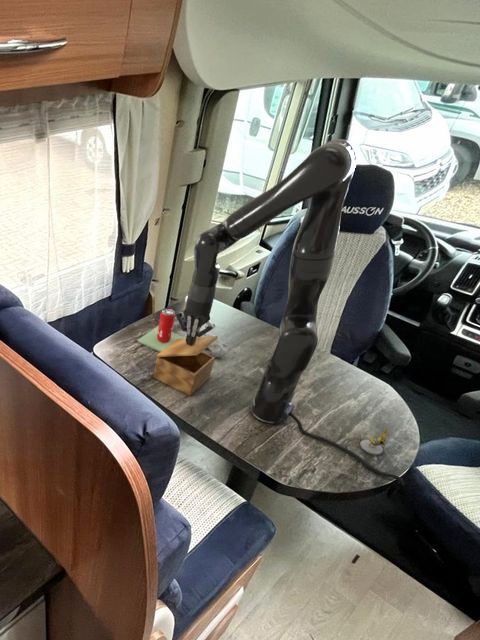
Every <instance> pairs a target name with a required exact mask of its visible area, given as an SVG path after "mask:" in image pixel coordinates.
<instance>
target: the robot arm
mask: <svg viewBox="0 0 480 640" xmlns="http://www.w3.org/2000/svg"><path fill="white" fill-rule="evenodd" d="M357 161H358V155H357V151H356V149H355V147H354V145H353V144H352V143H351V142H350V141H348V140H347V139H343V138H337V139H332V140H329V141H327V142H325V143H323V144H321V145H320V146H318V147H317V148H315V149H314V150H313V151H311V152H310V153H309V155H308V156H307V157H306V158H305V159H304V160H303V161H302V162H301V163H300V164H299V165H298V166H296V167H295V168H294V169H293V170H292V171H291V172H290V173H289V174H288V175H287V176H285V177H284V178H283V179H281V181H280V182H278V183H277V184H275V185H273V187H271V188H270V189H268V190H266V191H264V192H262V193H261V194H259V195H257V196H256V197H254V198H253V199H251V200H249V201H247V202H246V203H245V204H244V205H242V206H240V207H239V208H237V209H236V210H234V211H233V212H232V213H231V214H230V215H228V216H227V217H226V219H224V220H223V221H221V222H220V223H219V224H217V225H215V226H214V227H211V228H209V229H207V230H205V231H203V232H202V233H200V234H199V235H198V237H197V238H196V240H195V242H194V243H195V244H194V248H193V249H194V250H193V257H194V259H193V261H194V269H193V273H192V278H191V282H190V285H189V289H188V293H187V295H188V298H187V302H186V308H185V309H184V308H183V310H184V311H183V310H181V311H179V312H177V313H175V318H176V319H177V321H178V324H179V327H180V326H181V327H180V329H181V331H183V332H185V333H186V337H185V338H186V342H187V343H186V344H187V345H189V346H191V345H193V344H194V343H195V342H196V338H197V337H201V336H202V335H204V334H208V333H209V332H211V331H212V330H213V329H215V328H216V324H215V323H212V322H211V316H210V315H211V312H212V307H213V303H214V299H215V297H216V290H217V284H218V280H219V275H220V270H221V267H220V264H219V263H218V262H217V258H218V255H219V254H220V253H223V252H224V251H225V250H226V251H227V249H229V248H230V247H232V246H233V245H235V244H236V243H237V242H239V241H240V240H243V239H244V238H246V237H247V236H250V235H251V234H253V233H255V232H256V231H257V230H259V229H261V228H262V227H264V226H265V225H267V224H268V223H270V222H271V221H273V220H275V218H277V217H278V216H279V215H282V214H283V213H284V212H286V211H287V210H289V209H291V208H292V207H295V206H296V205H298V204H300V203H302V202H304V201H307V200H308V204H307V207H306V211H305V214H304V217H303V218H302V221H301V223H300V226H299V229H298V231H297V234H296V237H295V239H294V243H293V246H292V250H291V256H290V262H289V271H288V272H289V273H288V296H287V301H286V305H285V309H284V312H283V316H282V319H281V322H280V324H279V328H278V340H277V343H276V346H275V349H274V352H273V354H272V355H271V356H270V357H269V360H268V362H267V365H266V368H265V370H264V373H263V375H262V378H261V381H260V384H259V386H258V389H257V392H256V394H255V397H254V398H253V399H252V404H251V407H250V413H251V415H252V417H254V418H255V420H257V421H259V422H261V423H264V424H269V425H274V426H279V424H280V423H281V422H282V421H287V419H288V418H289V417H290V418H291V419H293V420H294V421H295V423H296V424H297V428H298V430H299V432H301V433H302V434H304V436H307V437H309V438H312V439H316V440H319V441H322V442H325V443H327V444H329V445H331V446H333V447H336V448H337V449H340V450H342V451H343V452H345V453H347V454H348V455H350V456H352V457H353V458H355V459H356V460H357V461H359V463H361V464H363V466H365V467H366V468H367V469H369V470H371V472H374V473H376V474H378V475H380V476H383V477H387V478H391V479H395V480H396V481H398V483H399V484H400V485H401V486H406V482H405V481H404V479H402V477H400V476H399V475H396V474H393V473H391V472H390V473H389V472H385V471H382V470H379V469H377V468H376V467H375V466H373V465H371V464H370V463H369V462H367V461H366V460H365V459H363V457H361V456H360V455H358V454H357V453H355V452H354V451H352V450H350V449H349V448H346V447H345V446H343V445H341V444H339V443H336V442H335V441H332V440H331V439H329V438H326V437H323V436H320V435H316V434H313V433H310V432H308V431H306V430H305V429H304V428H303V425H302V422H301V420H300V419H299V418H298V417H297V416H296V415H295V414H293V410H294V409H295V405H293V404H292V400H293V398H294V396H295V390H296V388H297V385H298V384H299V381H300V379H301V376H302V375H303V373H304V371H306V370H307V368H308V366H309V364H310V362H311V360H312V357H313V355H314V353H315V351H316V349H317V346H318V343H319V337H318V336H319V335H318V327H317V316H318V307H319V300H320V297H321V294H322V292H323V291H324V289H325V287H326V284H327V282H328V280H329V278H330V275H331V271H332V269H333V263H334V259H335V255H336V249H337V244H338V238H339V233H340V225H341V218H342V212H343V208H344V207H343V206H344V204H345V200H346V196H347V193H348V191H349V187H350V184H351V181H352V178H353V176H354V172H355V168H356V166H357ZM203 326H204V329H202V330H200V329H201V328H202V327H203ZM359 558H361V555H359V554H356V555H355V556H354V557H353V558H352V560H351V564H356V563H357V562H358V560H359Z"/></svg>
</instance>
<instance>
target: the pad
mask: <svg viewBox="0 0 480 640" xmlns="http://www.w3.org/2000/svg"><path fill="white" fill-rule="evenodd" d="M158 327H159V325H158V326H157V325H156V327H155V328H152V329H151V330H150V331H148V332H147V333H145V334H144V335H143V336H141V337H140V338H138V339H137V343H139V344H142V345H144V346H146V347H148V348H151V349H152V350H154V351H157V352H158V353H160V352H161V351H163V350H164V349H165V348H167V347H168V346H169V345H170V344H172V343H173V342H174V341H176V340H177V339H184V338H186V337H185V336H183V335H180V334H177V333H175V332H174V331H172V334H171V339H170V340H169V342H167V343H162V342H159V341H158V338H157V333H158Z"/></svg>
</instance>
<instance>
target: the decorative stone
mask: <svg viewBox="0 0 480 640" xmlns="http://www.w3.org/2000/svg"><path fill="white" fill-rule="evenodd" d="M209 336H214V335H213V334H212V333H211V334H210V333H206V334H204V335H202V336H201V337H209ZM225 347H226V348H227V349H226V348H225ZM206 349H208V350H210V353H211V354H210V355H211V356H213V357H215V358H223V357H225V356H226V355H227V354H228V352H229V351H230V345H229V344H227V343H225V342H223V341H222V340H220V338H218V339H216V340H215V341H214V342H213V343H212V344H210V345H209V346H208V347H207V348H206Z"/></svg>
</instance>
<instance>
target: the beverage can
mask: <svg viewBox="0 0 480 640" xmlns="http://www.w3.org/2000/svg"><path fill="white" fill-rule="evenodd" d="M175 318H176V312H175V310H174V309H171V308H164V309H162V310H161V312H160V316H159V322H158V326H159V327H158V333H157V338H158V341H159V342H162V343H167V342H169V340H170V339H171V334H172V332H173V329H174V325H175V324H174V323H175Z"/></svg>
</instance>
